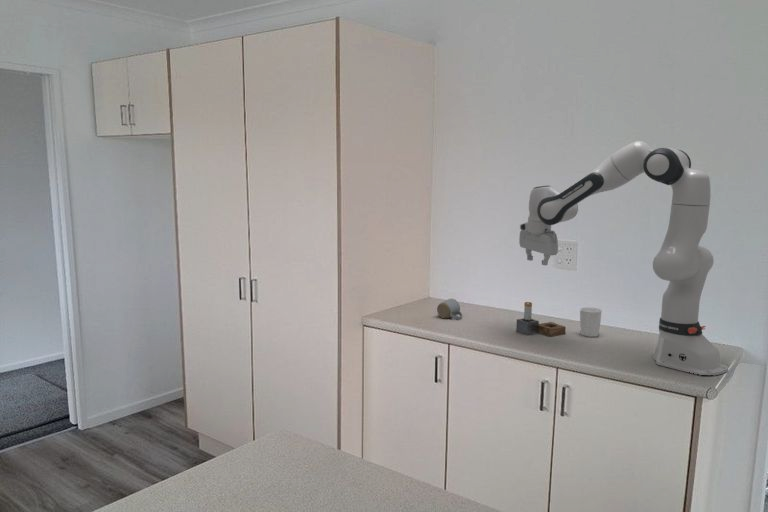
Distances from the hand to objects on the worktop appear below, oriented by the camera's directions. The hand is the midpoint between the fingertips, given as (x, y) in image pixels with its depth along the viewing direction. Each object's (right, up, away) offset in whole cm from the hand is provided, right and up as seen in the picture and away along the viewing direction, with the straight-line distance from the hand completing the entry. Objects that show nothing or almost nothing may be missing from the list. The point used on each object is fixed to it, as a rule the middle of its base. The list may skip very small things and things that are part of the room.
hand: (537, 262), depth 229 cm
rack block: (+6, -28, +3) cm, 29 cm away
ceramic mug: (-30, -25, +28) cm, 48 cm away
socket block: (-3, -28, +4) cm, 28 cm away
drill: (-3, -28, +4) cm, 28 cm away
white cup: (+21, -28, +1) cm, 35 cm away
